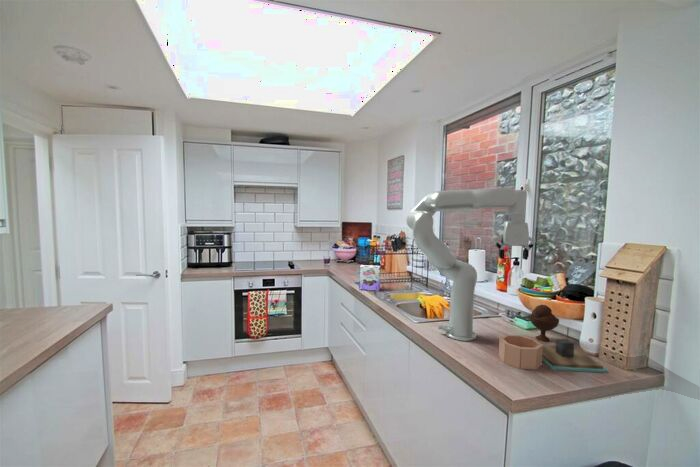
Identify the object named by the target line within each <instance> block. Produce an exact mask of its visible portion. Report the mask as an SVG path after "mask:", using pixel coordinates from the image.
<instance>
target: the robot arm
mask: <svg viewBox="0 0 700 467" xmlns="http://www.w3.org/2000/svg"><path fill="white" fill-rule="evenodd" d="M527 194H528V193H527V191H526V190H523V189H513V188H510V187H504V188H503V187H501V188H488V189H487V188H484V189H483V188H482V189H481V188H480V189H479V188H478V189H476V188H475V189H472V188H471V189H470V188H469V189H453V190H452V189H451V190H438V191H431V192H429V193H428V194H427V195H426V196H425V197H424V198H423V199H421V201H420V202H419V203H418V204H417V205H416V206H415V207H414V208H412V210H411V211H410V212H409V213H408V214H407V216H406V225H407V226H408V228H409V229H410V230H412V236H413V240H414V243H415V245H416V246H417V248H418V249H419V250H420V251H421V252H422V253H423V254H424V255H425V256H426V259H427V262H429V264H430V265H431V266H432V267H434V268H435V269H436V270H437V271H439V273H441V274H442V275H443V276H444V277H446V278H447V279H448V280H450V281H452V285H451V288H450V294H449V295H450V297H449V320H448V321H449V322H447V323H445V324H438V325H437V330H442V332H444V334H445V336H447V337H448V338H450V339H453V340H456V341H461V342H462V341H463V342H464V341H465V342H468V341H469V342H470V341H474V340H476V339H477V334H476V332H474V331H473V328H474V326H473V325H474V307H475V304H474V302H475V290H476V285H477V281H478V272H477V269H476V268H475V267H474V266H473V265H472V264H470V263H468V262H466V261H465V262H464V261H462V260H459V259H458V258H457V255H456V253H455V252H454V250H453V249H452V248H450V247H449V246H448V245H446V244H445V243H444V242H443V241H442V240H440V238H438V237H437V236H436V234H435V233H434V217H433V216H434V215H435V214H436V213H437V212H452V211H469V210H470V211H471V210H479V209H488V208H489V209H490V208H505V216H502V220H504V221H505V222H503V225H502V229H501V234H500V235H499V236H496V237H494V238H493V239H492V241H493V243H494V245H495V247H496V248H497V249H498V257H499V259H501V260H504V259H505V252H506V251H505V248H506V247H507V246H511V247H522V248H523V249H522V259H523V260H525V261H526V260H529V259H528V258H529V252H530V250H531V249H533V248H534V245H535V243H536V241H537V240H536V239H534V238H532V237H531V236H530V232H529V224H528V222H526V216H527V197H528V195H527ZM499 241H500V243H499Z"/></svg>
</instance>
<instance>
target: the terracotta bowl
mask: <svg viewBox="0 0 700 467" xmlns="http://www.w3.org/2000/svg"><path fill="white" fill-rule="evenodd" d="M498 341H499V342H498V358H499V359H500V360H501V361H502V363H503V364H505V365H508V366H512V367H514V368H517V369H520V370H538V369H539V368H540V367H541V366H542V365H543V362H542V353H543V345H544V344H542V343H540V341H539V340H537V339H536V338H532V337H528V336H524V335H521V334H504V335H502V336H500V337H499V340H498Z"/></svg>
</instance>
